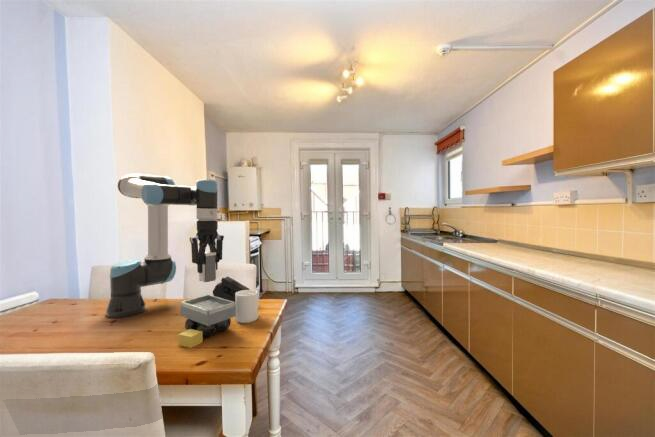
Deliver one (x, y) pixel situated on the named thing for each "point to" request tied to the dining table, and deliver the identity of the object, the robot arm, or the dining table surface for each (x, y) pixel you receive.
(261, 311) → the dining table surface
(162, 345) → the dining table surface
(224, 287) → the tool
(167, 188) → the robot arm
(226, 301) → the grey open rectangular container
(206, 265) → the grey tall block
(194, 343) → the block
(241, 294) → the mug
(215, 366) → the dining table surface
